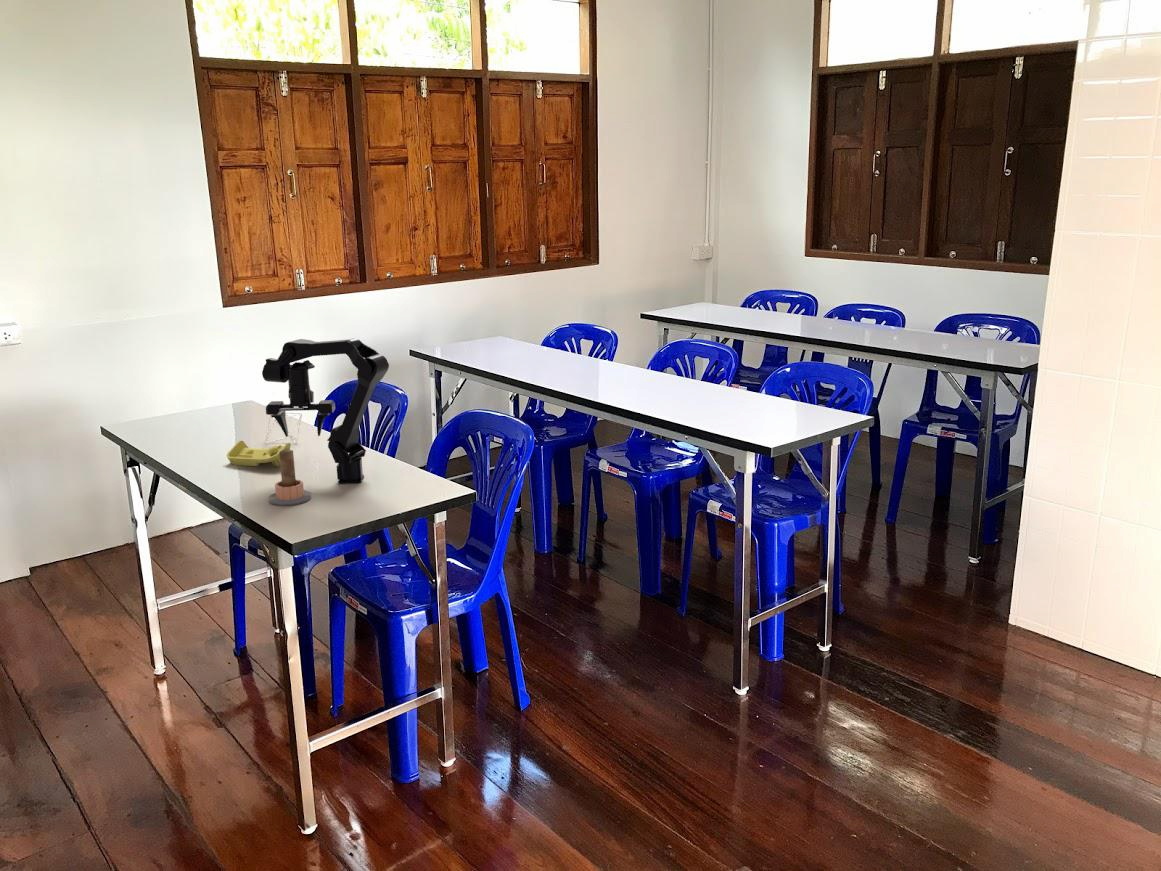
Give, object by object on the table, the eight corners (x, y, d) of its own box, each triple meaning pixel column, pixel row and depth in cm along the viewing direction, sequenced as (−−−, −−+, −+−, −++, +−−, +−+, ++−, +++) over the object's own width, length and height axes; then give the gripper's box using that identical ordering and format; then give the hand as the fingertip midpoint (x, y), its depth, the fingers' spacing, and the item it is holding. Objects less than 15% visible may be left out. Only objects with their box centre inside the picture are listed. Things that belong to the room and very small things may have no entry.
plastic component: (223, 457, 296) (242, 436, 303) (234, 475, 300) (252, 454, 307) (273, 460, 288) (292, 438, 294) (284, 478, 292) (302, 457, 299)
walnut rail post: (293, 492, 266) (289, 449, 263) (299, 495, 264) (295, 451, 260) (280, 495, 264) (276, 451, 261) (286, 498, 261) (282, 454, 258)
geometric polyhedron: (266, 447, 316) (264, 420, 313) (263, 439, 325) (261, 413, 323) (306, 443, 320) (304, 417, 318) (301, 435, 330) (299, 409, 328)
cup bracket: (314, 492, 270) (313, 476, 269) (306, 505, 259) (305, 489, 258) (274, 493, 269) (273, 478, 268) (264, 506, 258) (263, 490, 257)
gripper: (336, 377, 287) (340, 428, 291) (272, 378, 285) (276, 429, 289) (329, 385, 276) (333, 438, 280) (263, 386, 274) (268, 439, 279)
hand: (303, 436), depth 282 cm, fingers open, 9 cm apart
